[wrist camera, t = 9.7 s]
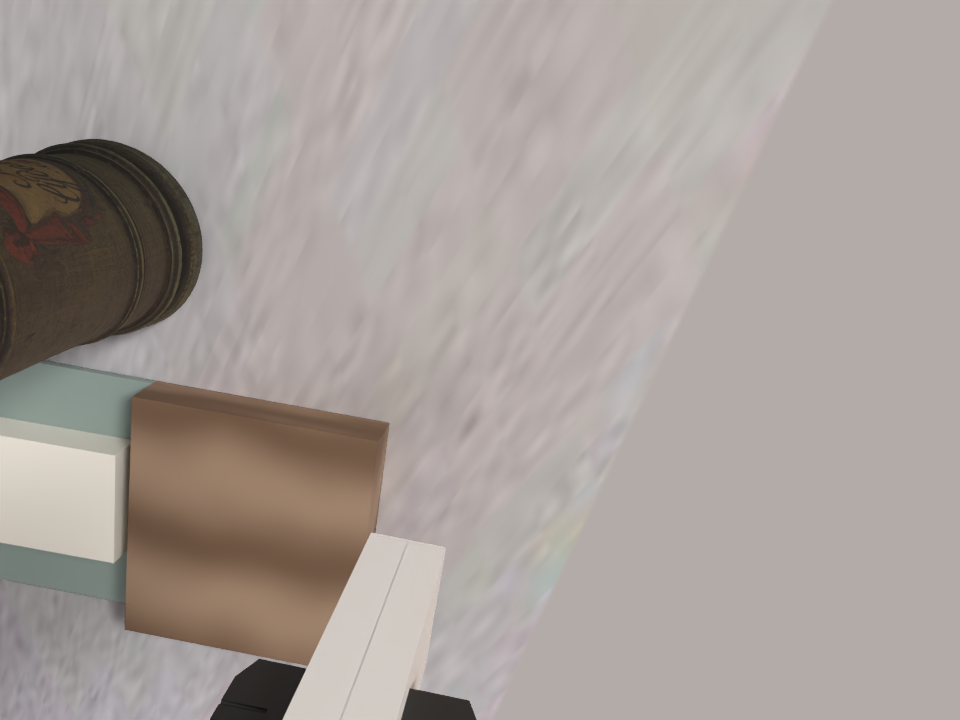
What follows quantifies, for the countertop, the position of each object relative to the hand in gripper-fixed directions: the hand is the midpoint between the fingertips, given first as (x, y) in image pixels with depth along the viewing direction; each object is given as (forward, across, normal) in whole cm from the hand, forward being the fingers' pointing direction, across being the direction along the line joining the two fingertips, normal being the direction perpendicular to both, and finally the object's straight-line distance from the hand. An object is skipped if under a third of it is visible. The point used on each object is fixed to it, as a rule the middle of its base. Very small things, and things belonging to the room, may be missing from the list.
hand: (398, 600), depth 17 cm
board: (+24, -10, -13) cm, 29 cm away
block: (+24, -21, -13) cm, 34 cm away
